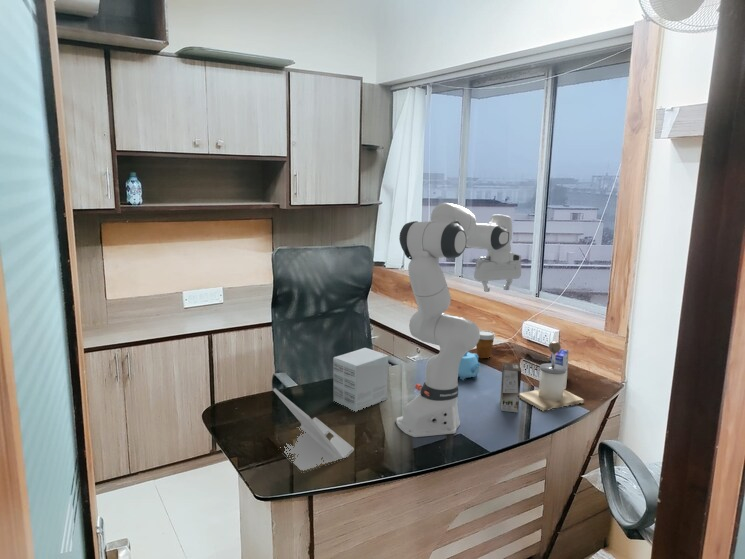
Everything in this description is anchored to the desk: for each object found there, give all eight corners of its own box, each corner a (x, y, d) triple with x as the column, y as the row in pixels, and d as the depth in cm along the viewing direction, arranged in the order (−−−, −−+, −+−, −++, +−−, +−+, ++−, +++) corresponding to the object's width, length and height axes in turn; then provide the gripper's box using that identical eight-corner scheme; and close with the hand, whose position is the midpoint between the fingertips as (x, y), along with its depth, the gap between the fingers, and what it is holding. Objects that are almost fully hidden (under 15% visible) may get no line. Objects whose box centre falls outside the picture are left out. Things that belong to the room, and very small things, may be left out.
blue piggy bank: (442, 379, 221) (443, 353, 219) (449, 368, 234) (450, 344, 232) (478, 384, 216) (480, 358, 214) (483, 373, 229) (484, 348, 227)
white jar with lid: (549, 403, 195) (552, 373, 193) (532, 393, 204) (534, 365, 202) (572, 398, 200) (575, 369, 197) (554, 389, 208) (557, 361, 206)
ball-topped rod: (552, 369, 196) (554, 344, 194) (544, 366, 200) (546, 340, 198) (561, 368, 198) (563, 342, 196) (553, 364, 202) (555, 339, 200)
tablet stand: (301, 473, 149) (301, 418, 146) (267, 438, 169) (266, 389, 166) (354, 456, 159) (355, 404, 156) (316, 424, 179) (316, 378, 176)
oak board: (542, 411, 191) (542, 407, 191) (517, 397, 204) (518, 393, 204) (583, 403, 199) (583, 399, 199) (557, 389, 212) (557, 386, 212)
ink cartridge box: (554, 374, 229) (557, 342, 226) (567, 376, 226) (570, 345, 223) (548, 381, 221) (551, 348, 218) (562, 384, 218) (565, 351, 215)
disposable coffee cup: (473, 359, 247) (475, 335, 245) (473, 352, 256) (474, 329, 254) (494, 360, 245) (495, 336, 243) (493, 354, 255) (494, 330, 252)
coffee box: (518, 412, 190) (521, 371, 187) (500, 411, 191) (503, 369, 188) (517, 402, 199) (520, 362, 196) (499, 401, 200) (502, 361, 197)
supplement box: (364, 389, 209) (365, 346, 206) (388, 399, 200) (389, 355, 196) (332, 401, 197) (332, 356, 194) (355, 413, 188) (356, 365, 184)
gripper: (481, 258, 195) (479, 294, 197) (524, 256, 203) (522, 290, 205) (471, 256, 200) (469, 291, 203) (514, 254, 208) (512, 287, 211)
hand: (496, 290), depth 204 cm, fingers open, 8 cm apart
